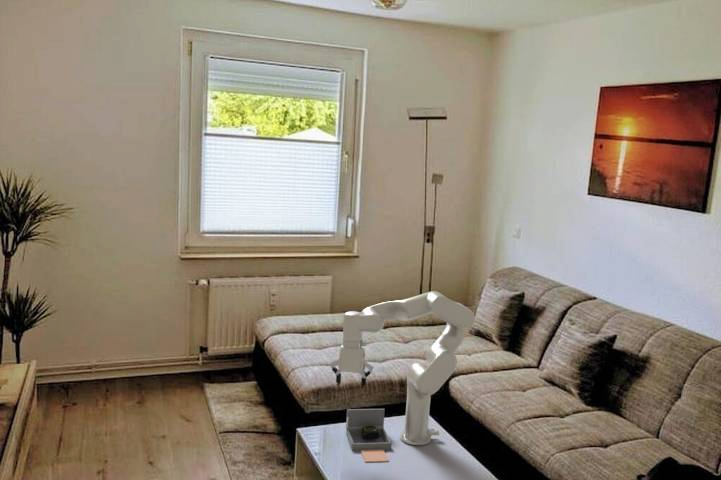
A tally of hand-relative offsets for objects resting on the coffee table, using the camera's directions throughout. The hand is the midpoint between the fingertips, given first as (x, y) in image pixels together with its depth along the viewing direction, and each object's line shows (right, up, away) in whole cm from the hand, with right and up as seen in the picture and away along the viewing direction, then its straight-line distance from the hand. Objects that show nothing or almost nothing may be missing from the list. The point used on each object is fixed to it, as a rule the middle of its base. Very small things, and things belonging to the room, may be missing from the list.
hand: (350, 385), depth 240 cm
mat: (+9, -25, -7) cm, 28 cm away
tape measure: (+7, -24, +4) cm, 25 cm away
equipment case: (+7, -24, +4) cm, 25 cm away
